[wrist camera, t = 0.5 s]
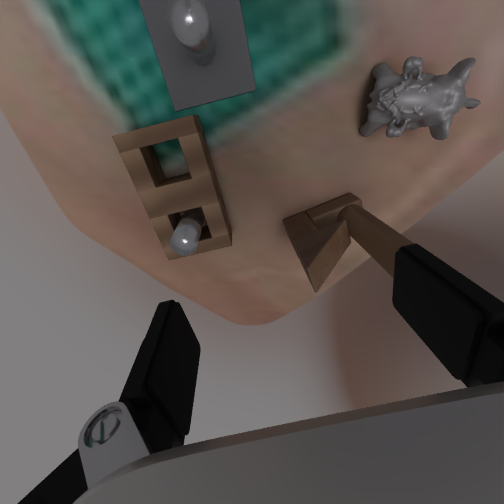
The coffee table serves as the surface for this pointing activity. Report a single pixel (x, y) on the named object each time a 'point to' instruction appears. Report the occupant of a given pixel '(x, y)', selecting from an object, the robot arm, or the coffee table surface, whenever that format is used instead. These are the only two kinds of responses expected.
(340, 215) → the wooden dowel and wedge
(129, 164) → the hole block
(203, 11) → the peg
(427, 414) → the robot arm
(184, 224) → the seated peg
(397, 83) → the gray elephant figurine
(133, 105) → the coffee table surface
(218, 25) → the mat
